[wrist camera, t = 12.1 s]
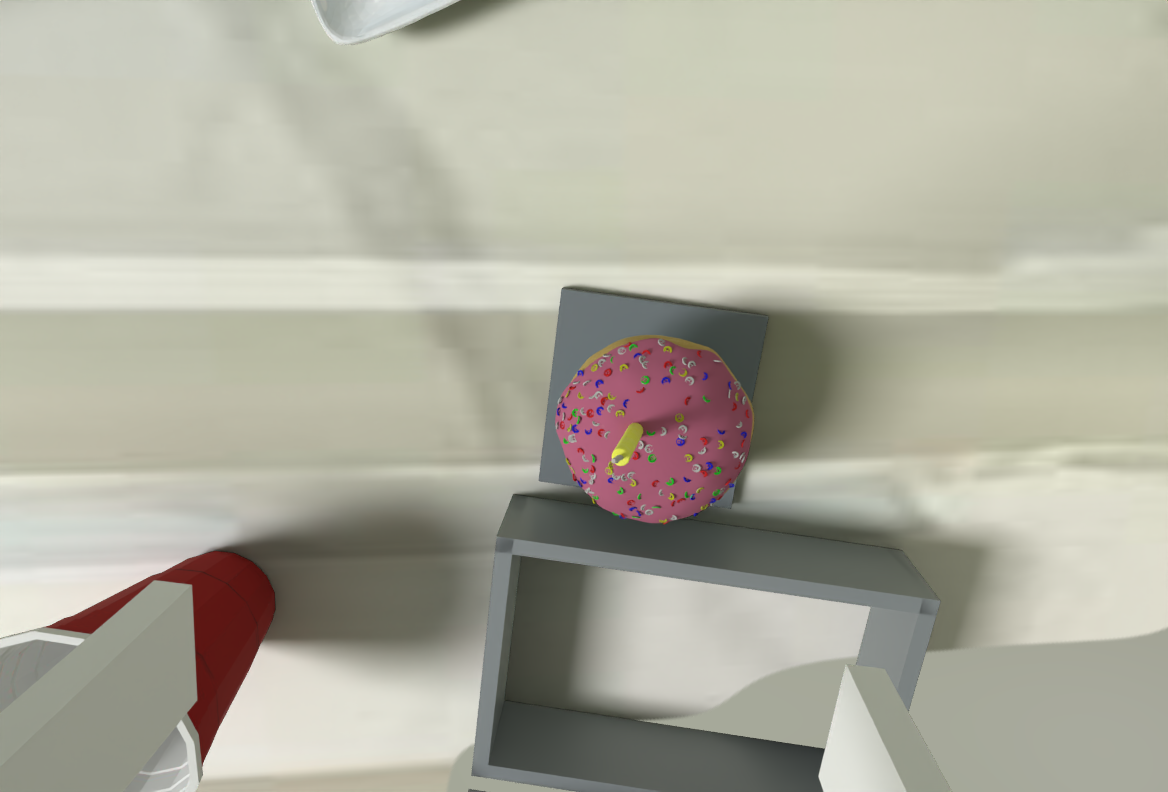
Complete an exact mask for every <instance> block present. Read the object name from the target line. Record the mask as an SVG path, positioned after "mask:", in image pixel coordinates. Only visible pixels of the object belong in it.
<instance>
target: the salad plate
mask: <svg viewBox="0 0 1168 792" xmlns="http://www.w3.org/2000/svg"><path fill="white" fill-rule="evenodd" d="M310 1H311V3H312V5H313V8H314V10H315V12H316V15H317V17H318V19H319V21H320V23H321V25H322V27H323V28H324V30H325V32H326V33H327V35H328V36H329V37H330V39H331V40H332V41H333V42H334V43H337V44H341V45H355V44H359V43H363V42H367V41H369V40H372V39H375V38H378V37H380V36H383V35H385V34H388V33H391V32H393V31H396V30H398V29H400V28H403V27H405V26H407V25H410V24H412V23H414V22H416V21H418V20H420V19H422V18H424V17H426V16H429V15H431V14H433V13H435V12H437V11H439V10H442V9H444V8H446V7H448V6H450V5H452V4H454V3H456V2H458V1H460V0H310Z"/></svg>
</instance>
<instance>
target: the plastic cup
mask: <svg viewBox="0 0 1168 792" xmlns="http://www.w3.org/2000/svg"><path fill="white" fill-rule="evenodd" d="M154 580H157V581H165V582H173V583H182V584H190V585H192V595H193V617H194V639H195V661H196V683H197V701H196V702H195V704H194V705H193V706H192V707H191V709H190V710H189V711H188V712H187V713H186V715H185V716H184V717H183V718H182V720H181V721H180V722H179V723H178V725H177V726H176V727H175V728H174V730H173V731H172V732H171V733H170V735H169V736H168V737H167V738H166V739H165V741H164V742H163V743H162V744H161V746H160V747H159V748H158V749H157V751H156V752H155V753H154V754H153V756H152V757H151V758H150V759H149V760H148V762H147V763H146V764H145V765H144V767H143V768H142V769H141V770H140V772H139V773H138V774H137V775H136V777H135V778H134V779H133V780H132V781H131V783H130V784H129V785H128V786H127V788H126V789H125V790H124V791H123V792H196V790H197V787H198V785H199V783H200V780H201V778H202V776H203V771H202V766H203V762H204V760H205V757H206V755H207V753H208V751H209V749H210V747H211V744H212V742H213V740H214V737H215V735H216V733H217V730H218V728H219V726H220V724H221V723H222V721H223V719H224V717H225V715H226V713H227V711H228V709H229V707H230V705H231V703H232V702H233V700H234V698H235V696H236V694H237V692H238V690H239V688H240V686H241V684H242V682H243V681H244V679H245V677H246V675H247V673H248V671H249V669H250V667H251V665H252V662H253V660H254V658H255V656H256V653H257V651H258V649H259V646H260V644H261V642H262V641H263V639H264V637H265V635H266V633H267V631H268V628H269V626H270V624H271V622H272V619H273V614H274V612H275V592H274V590H273V588H272V586H271V584H270V582H269V580H268V578H267V576H266V575H265V574H264V573H263V572H262V571H261V570H260V569H259V568H258V567H257V566H256V565H255V564H254V563H253V562H252V561H250V560H248V559H246V558H244V557H241V556H239V555H237V554H235V553H230V552H220V551H213V552H209V553H206V554H203V555H199V556H196V557H192V558H189V559H187V560H185V561H183V562H181V563H179V564H177V565H175V566H173V567H172V568H170V569H168V570H166V571H164V572H162V573H159V574H156V575H152V576H150V577H148V578H146V579H144V580H143V581H141V582H139V583H137V584H135V585H133V586H131V587H129V588H127V589H125V590H123V591H121V592H119V593H117V594H115V595H113V596H111V597H109V598H107V599H105V600H103V601H101V602H99V603H97V604H96V605H94V606H92V607H90V608H88V609H86V610H84V611H82V612H80V613H78V614H76V615H74V616H71V617H67V618H64V619H62V620H60V621H58V622H56V623H54V624H52V625H50V626H46V627H42V628H38V629H34V630H30V631H26V632H22V633H18V634H14V635H10V636H6V637H3V638H0V713H1V712H2V711H3V710H4V709H5V708H7V707H8V706H9V705H10V704H11V703H12V702H13V701H15V700H16V699H17V698H18V697H19V696H20V695H22V694H23V693H24V692H25V691H26V690H27V689H29V688H30V687H31V686H32V685H33V684H34V683H36V682H37V681H38V680H39V679H40V678H41V677H42V676H44V675H45V674H46V673H47V672H48V671H49V670H51V669H52V668H53V667H54V666H55V665H56V664H58V663H59V662H60V661H61V660H62V659H63V658H65V657H66V656H67V655H68V654H69V653H70V652H71V651H73V650H74V649H75V648H76V647H77V646H78V645H80V644H81V643H82V642H83V641H84V640H85V639H87V638H88V637H89V636H90V635H91V634H92V633H94V632H95V631H96V630H97V629H98V628H99V627H100V626H102V625H103V624H104V623H105V622H106V621H107V620H109V619H110V618H111V617H112V616H113V615H114V614H116V613H117V612H118V611H119V610H120V609H121V608H123V607H124V606H125V605H126V604H127V603H128V602H129V601H131V600H132V599H133V598H134V597H135V596H136V595H138V594H139V593H140V592H141V591H142V590H143V589H145V588H146V587H147V586H148V585H149V584H150V583H152V582H153V581H154Z"/></svg>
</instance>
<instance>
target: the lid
mask: <svg viewBox="0 0 1168 792" xmlns="http://www.w3.org/2000/svg"><path fill="white" fill-rule="evenodd" d="M468 792H485V791H478V790H472V789H469V790H468Z"/></svg>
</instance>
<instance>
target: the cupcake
mask: <svg viewBox="0 0 1168 792" xmlns="http://www.w3.org/2000/svg"><path fill="white" fill-rule="evenodd" d="M555 426H556V432H557V434H558V437H559V439H560V442H561V445H562V448H563V451H564V454H565V457H566V462H567V463H568V466H569V468H570V471H571V473H572V475H573V480H574V481H576V482H577V483H578V484H579V486H580V487H582V488H583V489H584V490H585V493H588V495H589V496H590V497H591V498H592V500H593V503H594V504H595V502H596V503H597V504H598V505H599V506H600V507H602V508H603V509H605V510H607V511H610V512H612V514H613V515H615V516H618V515H619V517H620V518H621V519H626V518H629V519H633V520H638V521H642V522H647V523H663V524H666V523H668V522H670V521H673V520H677V519H681V518H685V517H688V516H691V515H694V516H697V514H698V513H699V512H701V511H702V510H704V509H706V508H707V507H709V506H713V505H714V503H715V501H716V500H720V499H721V498H722V497H723V495H724V494H725V493H726V492H727V491H728V490H729V489H730V488H732V487H734V486H735V485H734V484H733V483H734V482H735V480H736V479H737V477H738V475H739V473H740V472H741V470H742V468H743V467H744V464H745V462H746V460H747V456H748V453H749V448H750V443H751V439H752V435H753V429H754V411H753V407H752V404H751V402H750V400H749V398H748V396H747V394H746V393H745V391H744V390H743V388H742V387H741V384H740V382H738V381H737V379H736V378H735V376H734V375H733V373H732V372H731V371H730V369H729V368H728V366H727V365H726V364H725V362H724V361H723V360H722V358H721V357H720V356H719V355H718V354H717V353H716V352H715V351H714V350H713V349H711V348H709V347H706V346H703V345H700V344H696V343H693V342H690V341H687V340H683V339H679V338H674V337H668V336H661V335H640V336H633V337H628V338H624V339H621V340H618V341H616V342H614V343H612V344H610V345H608V346H607V347H605V348H603V349H602V350H600V351H598V352H597V353H595V354H593V355H592V356H591V357H589V358H588V359H587V360H586V361H585V363H584V364H583V365H582V366H581V368H580V369H579V370H578V372H577V373H576V374H575V376H574V377H573V379H572V381H571V383H570V384H569V385H568V386H567V387H566V389H565V390H564V391H563V393H562V395H561V397H560V398H559V400H558V406H557V411H556V418H555ZM695 514H696V515H695ZM621 516H622V517H621Z"/></svg>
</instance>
